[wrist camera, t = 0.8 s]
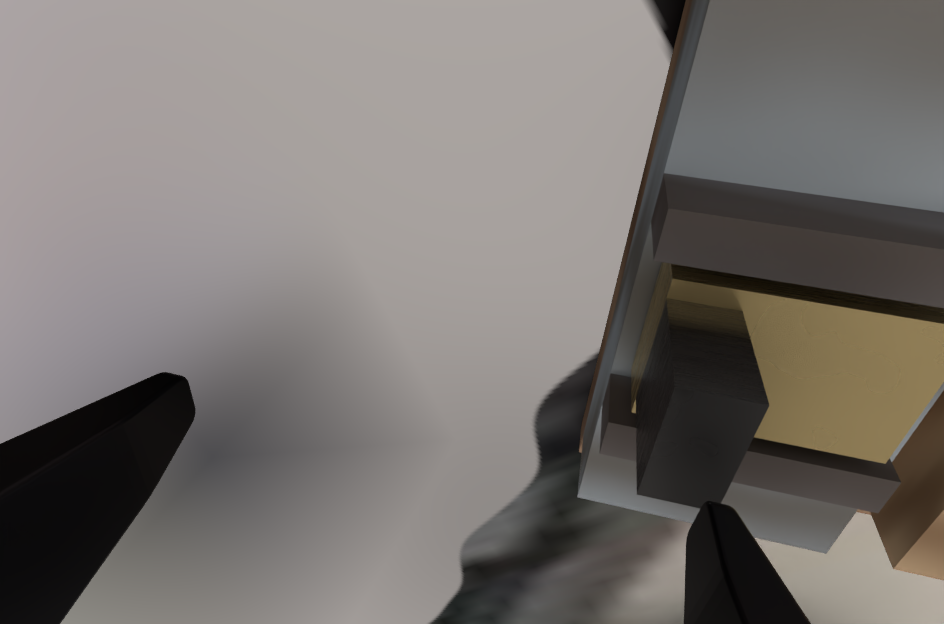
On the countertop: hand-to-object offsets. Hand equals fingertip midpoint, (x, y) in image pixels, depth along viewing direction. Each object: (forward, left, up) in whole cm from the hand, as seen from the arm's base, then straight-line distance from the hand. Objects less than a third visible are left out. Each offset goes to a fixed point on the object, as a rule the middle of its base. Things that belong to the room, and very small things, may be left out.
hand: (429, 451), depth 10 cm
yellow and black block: (-1, -7, -7) cm, 10 cm away
